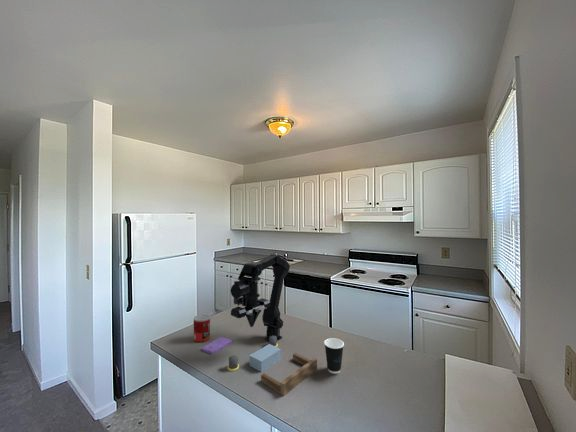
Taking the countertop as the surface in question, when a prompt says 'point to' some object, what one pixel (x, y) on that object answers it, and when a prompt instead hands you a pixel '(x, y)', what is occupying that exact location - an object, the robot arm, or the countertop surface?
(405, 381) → the countertop surface
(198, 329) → the canned food
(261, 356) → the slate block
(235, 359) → the bollards
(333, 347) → the dixie cup
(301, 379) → the bay
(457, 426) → the countertop surface
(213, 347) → the sponges
